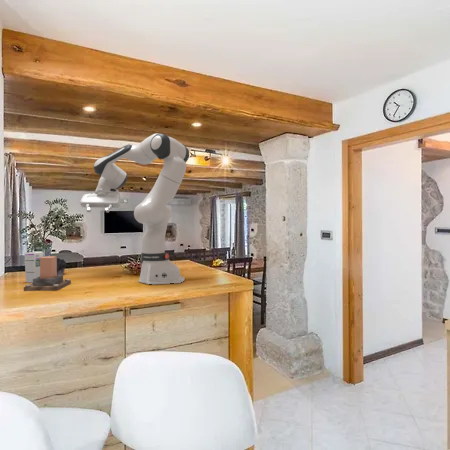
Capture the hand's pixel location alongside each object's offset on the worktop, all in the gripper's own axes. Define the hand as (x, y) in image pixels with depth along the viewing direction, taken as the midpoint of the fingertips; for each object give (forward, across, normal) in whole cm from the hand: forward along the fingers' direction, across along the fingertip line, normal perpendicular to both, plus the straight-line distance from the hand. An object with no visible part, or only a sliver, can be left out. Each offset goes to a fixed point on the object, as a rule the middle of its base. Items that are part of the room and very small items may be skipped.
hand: (97, 211), depth 165 cm
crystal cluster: (+19, -27, +30) cm, 45 cm away
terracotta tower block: (+38, -15, +8) cm, 42 cm away
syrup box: (+31, -27, +18) cm, 45 cm away
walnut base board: (+39, -15, +9) cm, 43 cm away
